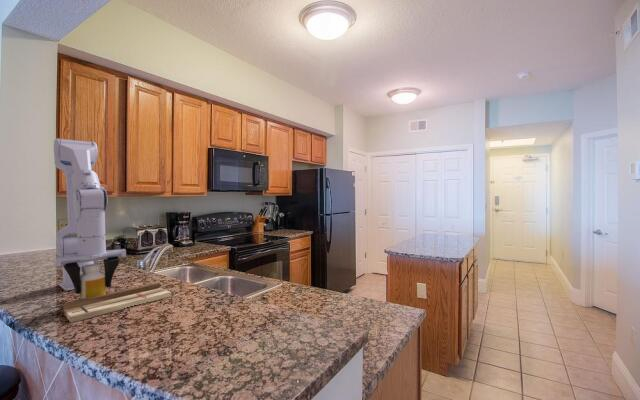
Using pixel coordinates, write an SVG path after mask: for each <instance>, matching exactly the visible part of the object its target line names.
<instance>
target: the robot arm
mask: <svg viewBox="0 0 640 400" xmlns="http://www.w3.org/2000/svg"><path fill="white" fill-rule="evenodd" d="M98 151H99V149H98V145H97V143H96V142H95V141H85V140H74V139H62V138H58V137H57V138H56V139H54V140H53V156H54V157H53V160H54V165H55V168H56V169H58V170H60V171H62V172H63V175H64V177H65V185H66V186H65V188H66V207H67V209H66V210H67V225H65V226H64V227H62V228H61V229H59V230H58V231H57V233H56V242H55V244H56V245H55V246H56V247H55V248H56V249H55V250H56V256H57V257H54V258H53V265H54V267H55V268H58V267H59V268H60V267H62V282H61V283H58V286H59V287H61V289H63V290H64V291H72V290H74V293H75V294H78V295H79V293H81V288H80V275H82V274H83V272H82V266H83V265H87V264H95V263H94V262H95V261H103V266H104V273H105V288H106V289H107V288H112V287H111V285H112V280H113V277H114V274H115V272H116V269H118V268H117V267H118V266H119V264H120V258H125V257H126V258H127V250H126V248H121V249H120V248H119V249H111V250H110V249H108V250H107V244H106V242H107V241H106V240H107V239H106V238H107V237H106V212H105V211H107V209H108V200H109V199H108V193H107V190H106V188H104V186H101V182H100V179H99V175H98V173H97V172H95V171H94V170H93V169H94V168H95V165H96V162H97V160H98V157H99V156H98V154H99V152H98Z"/></svg>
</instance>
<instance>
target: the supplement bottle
mask: <svg viewBox="0 0 640 400" xmlns="http://www.w3.org/2000/svg"><path fill="white" fill-rule="evenodd" d="M101 270H102V263H96V262H95V263H94V264H87V265H83V266H82V272H83V274H82V275H80V288H81V293H79V294H78V300H81V299H85V298H90V297H94V296H99V295H103V294H107V293H106V286H105V271H101Z"/></svg>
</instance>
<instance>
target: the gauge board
mask: <svg viewBox="0 0 640 400" xmlns="http://www.w3.org/2000/svg"><path fill="white" fill-rule="evenodd" d="M161 286H162V285H161V282H160V281H159V282H154V283H150V284H144V285H140V286H136V287H132V288H131V287H130V288H126V289H122V290H118V291H114V292H108V293H106V294H103V295H99V296H94V297H90V298H85V299H81V300H79V299H76V300H72V301H68V302H64V303H63V302H62V314H63V316H64V317H66V318H67V320H68V321H69V322H70V323H75V322H79V321H84V320H87V319H90V318H95V317H98V316H102V315H106V314H110V313H113V312H117V311H120V310H121V311H122V310H125V309H128V308H127V307H129V308H131V307H130V306H133V307H135V306H134V305H137V306H139V305H138V304H141V305H143V304H142V303H144V304H148V303H151V302H156V301H159V300H162V299H167V298H171V297H172V292H171V291H169V290H167V289H165V288H163V287H161ZM147 302H148V303H147ZM124 308H125V309H124Z"/></svg>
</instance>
